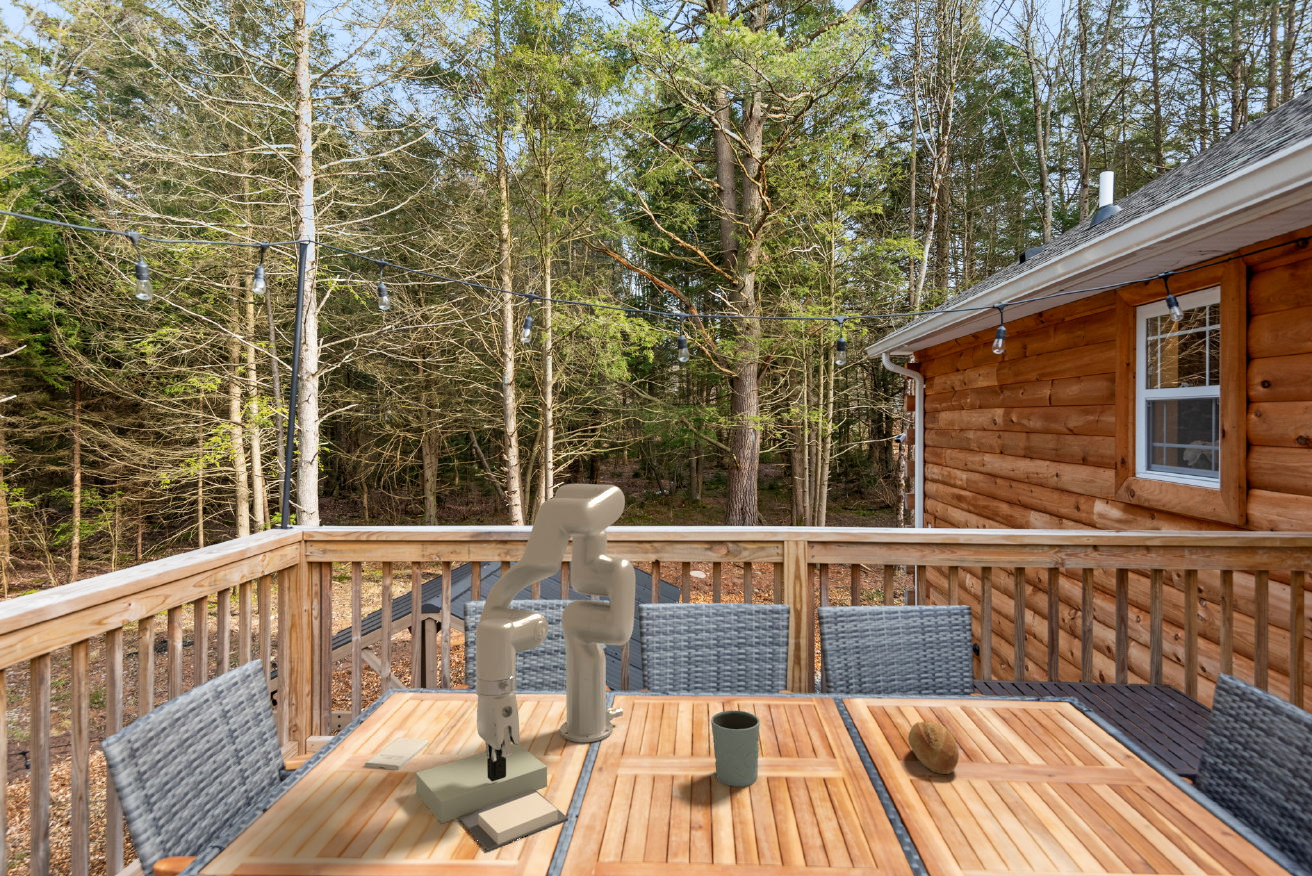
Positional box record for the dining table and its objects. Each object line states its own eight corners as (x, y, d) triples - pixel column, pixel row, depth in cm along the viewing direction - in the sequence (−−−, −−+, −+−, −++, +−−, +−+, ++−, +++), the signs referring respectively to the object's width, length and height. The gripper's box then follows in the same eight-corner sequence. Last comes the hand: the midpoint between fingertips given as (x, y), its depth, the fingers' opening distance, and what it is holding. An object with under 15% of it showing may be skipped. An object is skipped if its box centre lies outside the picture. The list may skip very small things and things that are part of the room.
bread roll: (920, 778, 144) (920, 740, 144) (900, 746, 159) (900, 711, 159) (968, 780, 143) (968, 741, 143) (944, 747, 158) (943, 712, 158)
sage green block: (516, 760, 152) (516, 742, 152) (547, 786, 141) (547, 766, 141) (416, 792, 139) (416, 773, 139) (441, 823, 128) (441, 802, 128)
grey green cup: (758, 791, 139) (758, 731, 139) (708, 786, 141) (708, 727, 141) (761, 767, 149) (760, 711, 149) (714, 763, 151) (714, 708, 151)
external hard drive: (429, 747, 161) (398, 772, 149) (397, 744, 162) (364, 769, 150) (429, 740, 161) (398, 764, 149) (397, 737, 162) (364, 761, 150)
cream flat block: (557, 809, 128) (557, 820, 128) (536, 792, 134) (536, 802, 134) (498, 833, 120) (498, 844, 121) (478, 813, 127) (478, 824, 127)
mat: (535, 791, 139) (535, 789, 139) (568, 820, 129) (568, 817, 129) (458, 819, 129) (458, 817, 129) (487, 852, 119) (487, 849, 119)
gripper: (531, 690, 131) (532, 787, 131) (497, 669, 143) (498, 758, 143) (494, 700, 126) (495, 800, 126) (462, 677, 138) (463, 769, 138)
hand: (496, 777), depth 135 cm, fingers closed
